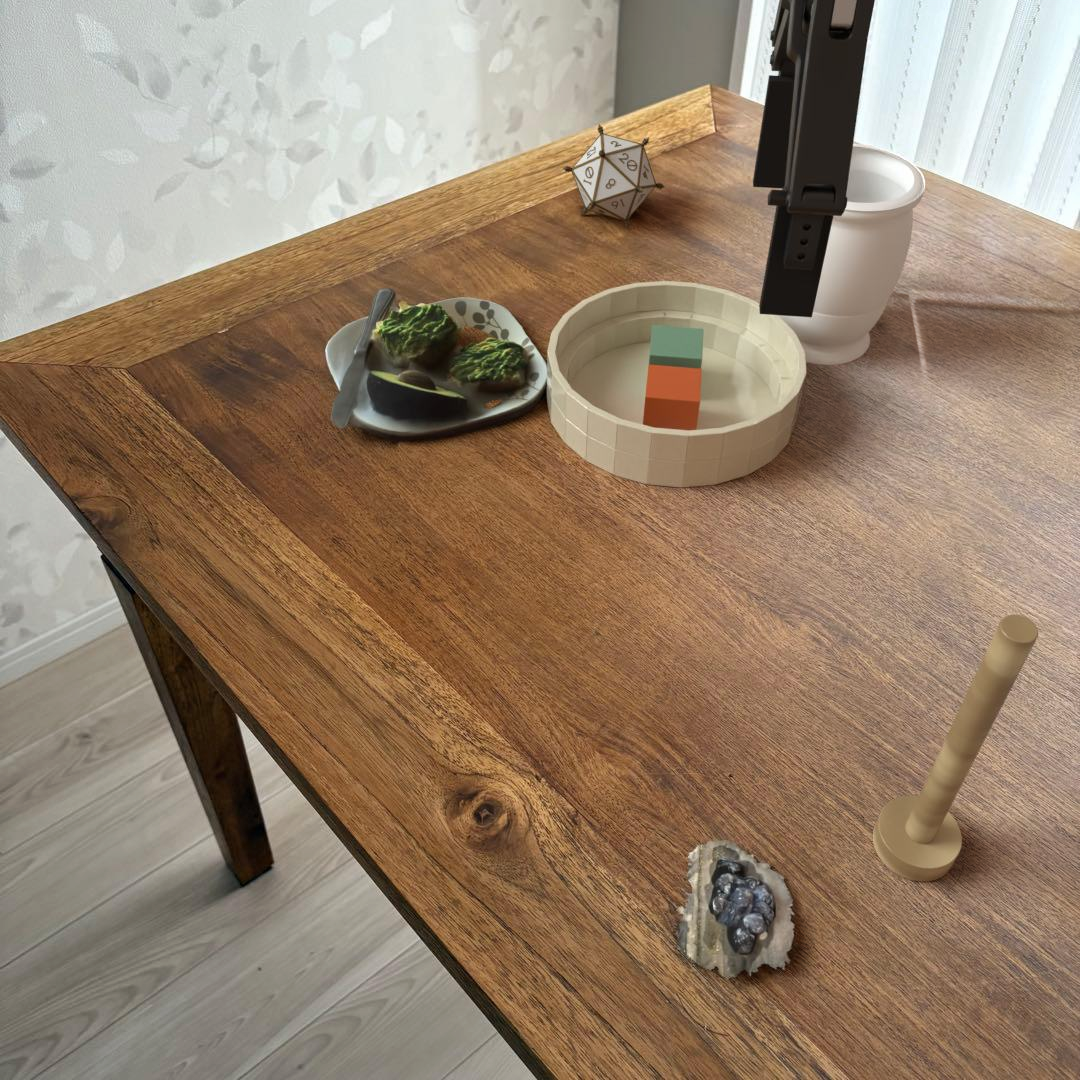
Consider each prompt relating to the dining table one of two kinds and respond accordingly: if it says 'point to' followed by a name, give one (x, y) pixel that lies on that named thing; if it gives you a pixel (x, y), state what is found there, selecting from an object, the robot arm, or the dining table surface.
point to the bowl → (726, 383)
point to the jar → (861, 256)
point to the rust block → (672, 397)
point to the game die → (614, 176)
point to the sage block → (676, 346)
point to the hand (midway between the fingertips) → (779, 244)
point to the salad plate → (432, 369)
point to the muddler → (952, 765)
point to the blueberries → (734, 911)
